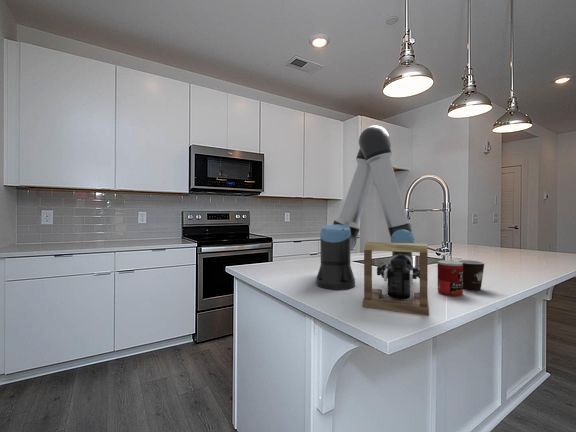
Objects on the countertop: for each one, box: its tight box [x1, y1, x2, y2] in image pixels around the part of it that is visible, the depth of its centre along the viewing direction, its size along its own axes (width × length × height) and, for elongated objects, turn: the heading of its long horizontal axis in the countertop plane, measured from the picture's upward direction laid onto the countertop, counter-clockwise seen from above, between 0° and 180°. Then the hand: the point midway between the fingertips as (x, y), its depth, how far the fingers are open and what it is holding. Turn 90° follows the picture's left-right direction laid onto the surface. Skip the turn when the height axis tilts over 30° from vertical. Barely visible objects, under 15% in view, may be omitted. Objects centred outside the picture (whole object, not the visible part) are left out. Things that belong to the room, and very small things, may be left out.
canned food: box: [437, 259, 464, 297], centre depth 102 cm, size 8×8×11 cm
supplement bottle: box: [387, 258, 411, 301], centre depth 93 cm, size 7×7×12 cm
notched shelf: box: [362, 241, 430, 316], centre depth 91 cm, size 15×18×19 cm
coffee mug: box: [457, 259, 485, 292], centre depth 108 cm, size 12×9×10 cm
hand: (397, 277), depth 89 cm, fingers closed on supplement bottle, 7 cm apart
